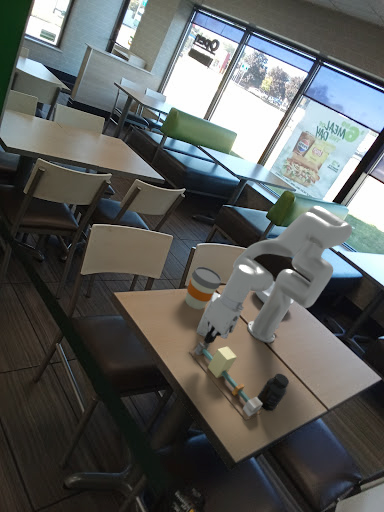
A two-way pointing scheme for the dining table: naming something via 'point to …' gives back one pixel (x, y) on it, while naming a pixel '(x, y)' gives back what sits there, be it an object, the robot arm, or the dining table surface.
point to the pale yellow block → (222, 361)
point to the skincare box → (203, 323)
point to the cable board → (227, 384)
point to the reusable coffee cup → (202, 287)
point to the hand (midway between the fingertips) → (208, 341)
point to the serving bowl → (267, 293)
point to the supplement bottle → (273, 392)
